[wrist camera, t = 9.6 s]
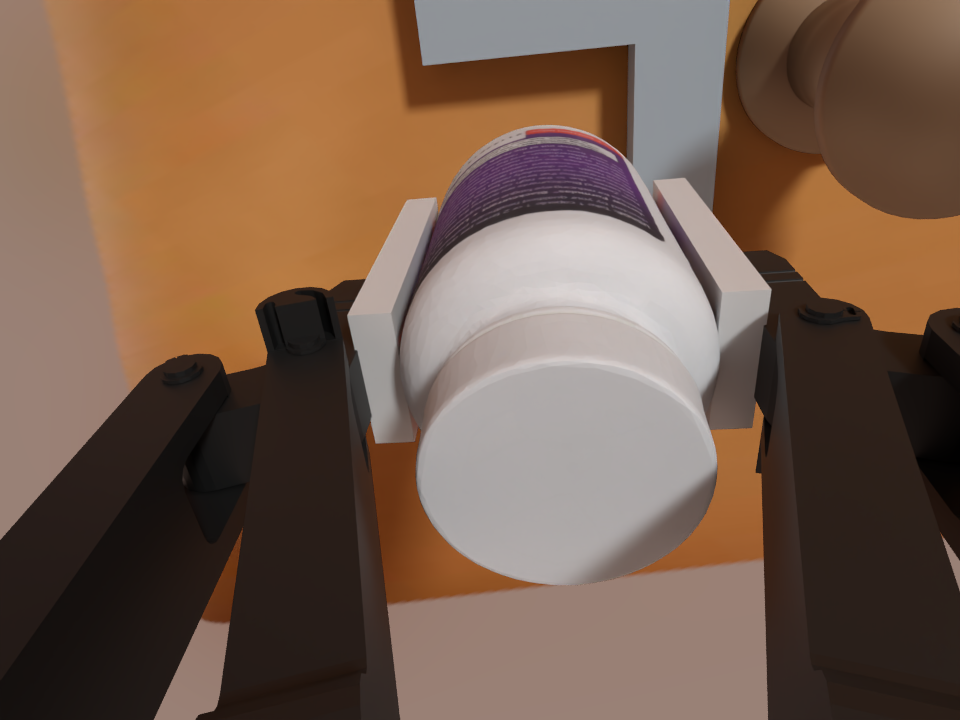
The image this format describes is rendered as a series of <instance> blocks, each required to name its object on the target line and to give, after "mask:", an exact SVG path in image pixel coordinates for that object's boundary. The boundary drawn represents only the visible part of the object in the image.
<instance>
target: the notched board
mask: <svg viewBox="0 0 960 720" xmlns="http://www.w3.org/2000/svg"><path fill="white" fill-rule="evenodd" d="M414 3H415V10H416V18H417V25H418V33H419V41H420V48H421V56H422V63H423V66H425V65H434V64H444V63H454V62H464V61H474V60H483V59H493V58H503V57H513V56H522V55H532V54H542V53H552V52H561V51H571V50H581V49H591V48H601V47H610V46H620V45H628V104H627V160H628V161H629V162H630V163H631V164H632V165H633V167H634V168H635V169H636V171H637V173H638V174H639V176H640V177H641V179H642V181H643V182H644V184H645V185H646V187H647V188H648V190H649V192H650V194H651V195H652V197H653V180H663V179H676V178H686V180H687V181H688V182H689V184H690V185H691V186H692V187H693V189H694V190H695V191H696V193H697V194H698V195H699V197H700V198H701V199H702V200H703V202H704V203H705V204H706V206H707V207H708V208H709V209H710V211H711V212H712V210H713V198H714V186H715V174H716V162H717V149H718V137H719V125H720V113H721V101H722V89H723V77H724V64H725V52H726V40H727V28H728V16H729V4H730V0H414Z"/></svg>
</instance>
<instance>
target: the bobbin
mask: <svg viewBox="0 0 960 720" xmlns="http://www.w3.org/2000/svg"><path fill="white" fill-rule="evenodd" d="M736 81H737V89H738V93H739V97H740V100H741V103H742V105H743V108H744V110H745V112H746V113H747V115H748V117H749V118H750V120H751V121H752V122H753V123H754V125H755V126H756V127H757V128H758V129H759V130H760V131H761V132H763V133H764V134H765V135H766V136H768V137H769V138H770V139H772V140H774V141H775V142H777V143H778V144H780V145H782V146H784V147H787V148H789V149H791V150H795V151H799V152H803V153H812V154H821V155H822V158H823V160H824V162H825V163H826V165H827V167H828V169H829V171H830V172H831V173H832V175H833V176H834V177H835V178H836V180H837V181H838V182H839V183H840V184H841V185H842V186H843V187H844V188H845V189H847V190H848V191H849V192H850V193H851V194H853V195H854V196H856V197H857V198H859V199H860V200H862V201H863V202H865V203H867V204H868V205H870V206H871V207H873V208H875V209H878V210H880V211H882V212H885V213H887V214H891V215H895V216H899V217H904V218H913V219H938V218H946V217H953V216H958V215H960V0H758V2H757V3H756V5H755V6H754V8H753V10H752V12H751V14H750V16H749V18H748V20H747V22H746V25H745V27H744V30H743V32H742V35H741V39H740V43H739V46H738V52H737V59H736Z"/></svg>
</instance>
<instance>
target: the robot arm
mask: <svg viewBox="0 0 960 720" xmlns="http://www.w3.org/2000/svg"><path fill="white" fill-rule="evenodd" d="M653 199H654V201H655V203H656V205H657V206H658V208H659V210H660V212H661V214H662V216H663V218H664V219H665V221H666V223H667V225H668V227H669V228H670V230H671V232H672V234H673V236H674V237H675V239H676V241H677V243H678V244H679V246H680V248H681V250H682V251H683V253H684V255H685V257H686V259H687V260H688V261H689V263H690V265H691V267H692V269H693V271H694V273H695V275H696V277H697V278H698V280H699V282H700V284H701V285H702V288H703V290H704V292H705V295H706V297H707V299H708V301H709V303H710V306H711V309H712V311H713V314H714V318H715V322H716V325H717V330H718V335H719V348H720V363H719V374H718V379H717V384H716V388H715V391H714V395H713V397H712V400H711V402H710V405H709V408H708V410H707V412H706V413H705V416H706V419H707V422H708V425H709V428H710V430H713V429H738V428H752V426H753V418H754V411H755V404H756V401H757V403H758V405H759V407H760V409H761V411H762V413H763V415H764V419H763V426H762V432H761V439H760V446H759V453H758V459H757V466H756V473H762V509H763V545H764V578H765V579H764V581H765V617H766V654H767V691H768V720H960V591H959V588H958V585H957V582H956V579H955V576H954V573H953V570H952V566H951V563H950V560H949V557H948V554H947V551H946V548H945V545H944V542H943V539H942V536H941V534H942V535H943V537H944V538H945V540H946V541H947V543H948V544H949V545H950V547H951V548H952V550H953V551H954V553H955V554H956V556H957V557H958V558H959V560H960V308H953V309H946V310H940V311H938V312H936V313H933V314H931V315H930V317H929V319H928V321H927V324H926V328H925V332H924V335H917V334H906V333H895V332H886V331H879V330H873V327H872V324H871V321H870V318H869V316H868V315H867V314H866V313H865V312H864V310H862V309H860V308H858V307H856V306H855V305H853V304H850V303H846V302H843V301H840V300H835V299H827V298H820V296H819V295H818V294H817V293H816V292H815V291H814V290H813V289H812V288H811V287H810V285H809V284H808V283H807V282H806V281H803V278H802V277H801V276H800V274H799V273H798V272H795V269H794V268H793V267H792V266H791V264H790V263H789V262H788V261H787V260H786V259H784V258H782V257H780V256H778V255H776V254H774V253H771V252H769V251H767V250H764V251H749V252H742V251H741V249H740V248H739V247H738V246H737V244H736V243H735V242H734V240H733V239H732V238H731V237H730V235H729V234H728V233H727V231H726V230H725V229H724V227H723V226H722V225H721V224H720V222H719V221H718V220H717V218H716V217H715V216H714V215H713V213H712V212H711V211H710V209H709V208H708V207H707V206H706V204H705V203H704V202H703V200H702V199H701V198H700V197H699V195H698V194H697V193H696V191H695V190H694V189H693V187H692V186H691V185H690V184H689V182H688V181H687V180H686V178H676V179H663V180H653ZM438 216H439V214H438V207H437V199H436V198H424V199H411V200H407V201H406V203H405V205H404V207H403V209H402V211H401V213H400V214H399V216H398V218H397V220H396V222H395V224H394V226H393V228H392V230H391V232H390V234H389V236H388V238H387V240H386V242H385V243H384V245H383V247H382V249H381V251H380V253H379V255H378V257H377V259H376V261H375V263H374V265H373V267H372V269H371V271H370V272H369V274H368V276H367V278H366V279H361V280H346V281H343V282H341V283H340V284H338V285H337V286H336V287H334V288H333V289H331V290H330V291H328V290H325V289H323V288H315V287H306V288H295V289H291V290H287V291H283V292H280V293H278V294H275V295H273V296H270V297H268V298H267V299H265V300H264V301H262V302H261V303H259V305H258V306H257V308H256V309H255V312H256V315H257V318H258V322H259V325H260V328H261V332H262V335H263V338H264V342H265V345H266V348H267V352H268V354H267V361H266V365H264V366H261V367H257V368H253V369H249V370H245V371H240V372H236V373H231V374H227V375H226V373H225V370H224V367H223V364H222V362H221V360H220V359H219V357H216V356H214V355H211V354H194V355H182V356H178V357H177V358H172V359H169V360H167V361H166V362H165V363H163V364H162V365H160V366H158V367H156V368H154V369H153V370H152V371H150V372H149V373H148V374H147V375H146V376H145V377H144V378H143V379H142V380H141V381H140V382H139V383H138V385H137V386H136V387H135V388H134V389H133V390H132V391H131V393H130V394H129V395H128V396H127V397H126V398H125V399H124V400H123V402H122V403H121V404H120V405H119V406H118V407H117V409H116V410H115V411H114V412H113V413H112V414H111V415H110V416H109V417H108V419H107V420H106V421H105V422H104V423H103V424H102V425H101V427H100V428H99V429H98V430H97V431H96V432H95V433H94V434H93V436H92V437H91V438H90V439H89V440H88V442H86V444H85V445H84V446H83V447H82V448H81V449H80V450H79V451H78V453H77V454H76V455H75V456H74V457H73V458H72V459H71V461H70V462H69V463H68V464H67V465H66V466H65V467H64V468H63V470H62V471H61V472H60V473H59V474H58V475H57V476H56V478H55V479H54V480H53V481H52V482H51V483H50V485H48V487H47V488H46V489H45V490H44V491H43V492H42V494H41V495H40V496H39V497H38V498H37V499H36V500H35V501H34V503H33V504H32V505H31V506H30V507H29V508H28V509H27V510H26V512H25V513H24V514H23V515H22V516H21V517H20V518H19V519H18V521H17V522H16V523H15V524H14V525H13V526H12V527H11V529H10V530H9V531H8V532H7V533H6V535H4V536H3V538H2V539H1V540H0V720H154V718H155V716H156V714H157V711H158V709H159V707H160V705H161V703H162V701H163V698H164V696H165V694H166V692H167V689H168V688H169V685H170V683H171V681H172V679H173V677H174V675H175V673H176V670H177V668H178V666H179V664H180V662H181V660H182V657H183V655H184V653H185V651H186V649H187V647H188V644H189V642H190V640H191V638H192V636H193V634H194V631H195V629H196V627H197V625H198V623H199V621H200V619H201V617H202V614H203V612H204V610H205V608H206V606H207V604H208V601H209V599H210V597H211V595H212V593H213V591H214V588H215V586H216V584H217V582H218V580H219V578H220V576H221V573H222V571H223V569H224V567H225V565H226V563H227V560H228V558H229V556H230V554H231V552H232V550H233V547H234V545H235V543H236V541H237V539H238V537H239V535H240V532H241V530H242V528H243V533H242V540H241V547H240V555H239V562H238V569H237V576H236V583H235V590H234V598H233V605H232V612H231V619H230V626H229V634H228V641H227V648H226V655H225V662H224V669H223V676H222V684H221V691H220V696H219V701H218V705H217V707H216V709H215V710H214V711H212V712H208V713H204V714H200V715H198V717H197V718H196V720H400V715H399V706H398V697H397V689H396V680H395V671H394V662H393V654H392V645H391V637H390V627H389V618H388V610H387V601H386V592H385V583H384V575H383V566H382V557H381V548H380V540H379V531H378V522H377V513H376V504H375V496H374V487H373V478H372V469H371V461H370V453H369V449H368V445H367V440H366V436H365V435H366V432H367V429H368V426H369V423H370V420H371V425H372V429H373V434H374V438H375V443H400V442H415V439H416V434H417V430H418V425H417V423H416V421H415V419H414V417H413V415H412V413H411V411H410V409H409V406H408V403H407V400H406V398H405V394H404V390H403V385H402V381H401V373H400V345H401V338H402V332H403V328H404V323H405V319H406V316H407V312H408V309H409V306H410V303H411V300H412V297H413V294H414V291H415V288H416V285H417V282H418V279H419V276H420V273H421V270H422V267H423V264H424V261H425V258H426V255H427V252H428V249H429V245H430V242H431V239H432V236H433V232H434V229H435V226H436V222H437V219H438ZM940 532H941V533H940Z"/></svg>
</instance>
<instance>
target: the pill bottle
mask: <svg viewBox="0 0 960 720" xmlns="http://www.w3.org/2000/svg"><path fill="white" fill-rule="evenodd" d="M719 363H720V348H719V335H718V330H717V325H716V322H715V318H714V314H713V311H712V309H711V306H710V303H709V301H708V299H707V297H706V295H705V292H704V290H703V288H702V285H701V284H700V282H699V280H698V278H697V277H696V275H695V273H694V271H693V269H692V267H691V265H690V263H689V261H688V260H687V259H686V257H685V255H684V253H683V251H682V250H681V248H680V246H679V244H678V243H677V241H676V239H675V237H674V236H673V234H672V232H671V230H670V228H669V227H668V225H667V223H666V221H665V219H664V218H663V216H662V214H661V212H660V210H659V208H658V206H657V205H656V203H655V201H654V199H653V197H652V195H651V194H650V192H649V190H648V188H647V187H646V185H645V184H644V182H643V181H642V179H641V177H640V176H639V174H638V173H637V171H636V169H635V168H634V167H633V165H632V164H631V163H630V162H629V161H628V160H627V159H626V158H625V156H624V155H623V154H621V153H620V152H619V151H618V150H617V149H616V148H614V147H613V146H611V145H610V144H609V143H607V142H606V141H604V140H602V139H601V138H599V137H597V136H595V135H593V134H591V133H588V132H586V131H583V130H579V129H575V128H571V127H566V126H558V125H540V126H531V127H525V128H521V129H518V130H514V131H511V132H509V133H507V134H504V135H502V136H500V137H498V138H496V139H494V140H492V141H491V142H489V143H488V144H486V145H485V146H483V147H482V148H481V149H479V150H478V151H477V152H476V153H475V154H474V155H472V156H471V157H470V158H469V159H468V161H467V162H466V163H465V164H464V165H463V166H462V168H461V169H460V170H459V172H458V173H457V175H456V176H455V178H454V179H453V181H452V183H451V185H450V187H449V189H448V191H447V193H446V195H445V198H444V200H443V203H442V206H441V208H440V212H439V216H438V219H437V222H436V226H435V229H434V232H433V236H432V239H431V242H430V245H429V249H428V252H427V255H426V258H425V261H424V264H423V267H422V270H421V273H420V276H419V279H418V282H417V285H416V288H415V291H414V294H413V297H412V300H411V303H410V306H409V309H408V312H407V316H406V319H405V323H404V328H403V332H402V338H401V345H400V373H401V381H402V385H403V390H404V394H405V398H406V400H407V403H408V406H409V409H410V411H411V413H412V415H413V417H414V419H415V421H416V423H417V425H418V427H419V428H420V430H421V435H420V441H419V445H418V450H417V457H416V484H417V490H418V493H419V497H420V502H421V504H422V506H423V509H424V511H425V513H426V515H427V516H428V518H429V519H430V521H431V523H432V524H433V526H434V528H435V529H436V530H437V531H438V532H439V533H440V534H441V535H442V537H443V538H444V539H445V540H446V541H447V542H448V543H449V544H450V545H451V546H452V547H453V548H454V549H456V550H457V551H458V552H460V553H461V554H462V555H464V556H465V557H467V558H468V559H470V560H471V561H473V562H474V563H476V564H478V565H480V566H482V567H484V568H486V569H489V570H491V571H493V572H496V573H498V574H501V575H504V576H507V577H511V578H514V579H518V580H523V581H528V582H533V583H540V584H550V585H582V584H589V583H596V582H601V581H607V580H611V579H615V578H618V577H621V576H624V575H627V574H630V573H633V572H635V571H638V570H640V569H642V568H644V567H646V566H649V565H650V564H652V563H654V562H656V561H657V560H659V559H661V558H662V557H664V556H666V555H667V554H669V553H670V552H671V551H673V550H674V549H676V548H677V547H678V546H679V545H680V544H681V543H682V542H683V541H684V540H686V539H687V538H688V537H689V536H690V535H691V533H692V532H693V531H694V530H695V528H696V527H697V526H698V525H699V523H700V522H701V520H702V519H703V517H704V515H705V514H706V512H707V509H708V507H709V504H710V502H711V500H712V497H713V494H714V489H715V485H716V479H717V455H716V449H715V445H714V442H713V438H712V435H711V431H710V428H709V425H708V422H707V419H706V416H705V413H706V412H707V410H708V408H709V405H710V402H711V400H712V397H713V395H714V391H715V388H716V384H717V379H718V374H719Z"/></svg>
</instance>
